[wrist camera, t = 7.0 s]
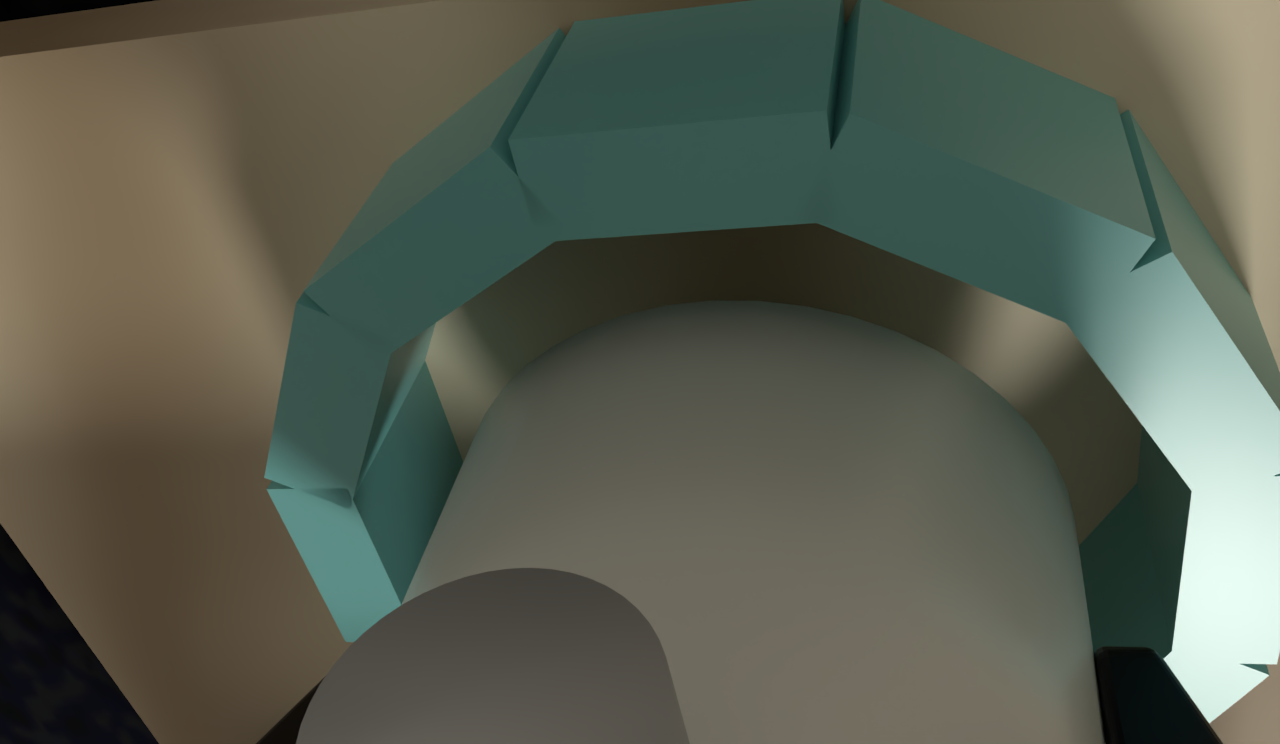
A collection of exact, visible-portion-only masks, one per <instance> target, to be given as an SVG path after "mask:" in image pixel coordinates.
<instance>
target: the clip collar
mask: <svg viewBox="0 0 1280 744" xmlns="http://www.w3.org/2000/svg"><path fill="white" fill-rule="evenodd" d="M809 223H818V224H821V225H823V226H826V227H828V228H831V229H833V230H836V231H838V232H840V233H843V234H845V235H848V236H850V237H853V238H855V239H858V240H860V241H863V242H865V243H868V244H870V245H873V246H875V247H878V248H880V249H883V250H885V251H888V252H890V253H893V254H895V255H898V256H900V257H903V258H905V259H908V260H910V261H913V262H915V263H918V264H920V265H923V266H925V267H928V268H930V269H933V270H935V271H938V272H940V273H943V274H945V275H948V276H950V277H953V278H955V279H958V280H960V281H963V282H965V283H968V284H970V285H973V286H975V287H978V288H980V289H983V290H985V291H987V292H990V293H992V294H995V295H997V296H1000V297H1002V298H1005V299H1007V300H1010V301H1012V302H1015V303H1017V304H1020V305H1022V306H1025V307H1027V308H1030V309H1032V310H1035V311H1037V312H1040V313H1042V314H1045V315H1047V316H1050V317H1052V318H1055V319H1057V320H1060V321H1062V322H1065V323H1066V324H1067V325H1068V327H1069V328H1070V329H1071V331H1072V332H1073V333H1074V335H1075V336H1076V337H1077V339H1078V340H1079V341H1080V343H1081V344H1082V345H1083V347H1084V348H1085V349H1086V351H1087V352H1088V353H1089V355H1090V356H1091V357H1092V359H1093V360H1094V361H1095V363H1096V364H1097V365H1098V367H1099V368H1100V369H1101V371H1102V372H1103V373H1104V375H1105V376H1106V377H1107V379H1108V380H1109V381H1110V383H1111V384H1112V385H1113V387H1114V388H1115V389H1116V391H1117V392H1118V393H1119V395H1120V396H1121V397H1122V399H1123V400H1124V401H1125V403H1126V404H1127V405H1128V407H1129V408H1130V409H1131V411H1132V412H1133V413H1134V415H1135V416H1136V417H1137V419H1138V420H1139V421H1140V423H1141V424H1142V433H1141V444H1140V456H1139V467H1138V479H1137V484H1136V485H1135V486H1134V487H1133V488H1132V489H1131V490H1130V491H1129V492H1128V493H1127V494H1126V496H1125V497H1124V498H1123V499H1122V500H1121V501H1120V502H1119V503H1118V504H1117V505H1116V506H1115V507H1114V508H1113V510H1112V511H1111V512H1110V513H1109V514H1108V515H1107V516H1106V517H1105V518H1104V519H1103V520H1102V521H1101V522H1100V524H1099V525H1098V526H1097V527H1096V528H1095V529H1094V530H1093V531H1092V532H1091V533H1090V534H1089V535H1088V536H1087V538H1086V539H1085V540H1084V541H1083V542H1082V543H1081V544H1080V545H1079V553H1080V560H1081V567H1082V574H1083V581H1084V588H1085V595H1086V602H1087V609H1088V617H1089V624H1090V631H1091V638H1092V645H1093V652H1094V653H1095V651H1096V649H1098V648H1100V647H1103V646H1125V647H1148V648H1151V649H1153V650H1155V651H1156V652H1157V653H1158V654H1159V655H1160V656H1161V657H1162V658H1163V659H1164V660H1165V662H1166V663H1167V664H1168V666H1169V667H1170V669H1171V670H1172V672H1173V673H1174V674H1175V676H1176V677H1177V679H1178V680H1179V681H1180V683H1181V684H1182V686H1183V687H1184V688H1185V690H1186V691H1187V693H1188V694H1189V696H1190V697H1191V698H1192V700H1193V701H1194V703H1195V704H1196V705H1197V707H1198V708H1199V710H1200V711H1201V712H1202V714H1203V715H1204V717H1205V718H1206V720H1207V721H1208V722H1209V723H1211V722H1212V721H1213V720H1214V719H1216V718H1217V717H1218V716H1219V715H1221V714H1222V713H1223V712H1224V711H1226V710H1227V709H1228V708H1229V707H1231V706H1232V705H1233V704H1234V703H1236V702H1237V701H1238V700H1239V699H1241V698H1242V697H1243V696H1244V695H1246V694H1247V693H1248V692H1249V691H1251V690H1252V689H1253V688H1254V687H1256V686H1257V685H1258V684H1259V683H1261V682H1262V681H1263V680H1264V679H1266V678H1267V677H1268V676H1269V671H1268V668H1267V664H1277V662H1278V657H1279V652H1280V372H1279V369H1278V366H1277V364H1276V361H1275V358H1274V356H1273V353H1272V350H1271V348H1270V345H1269V343H1268V340H1267V337H1266V335H1265V332H1264V329H1263V327H1262V324H1261V321H1260V319H1259V316H1258V314H1257V311H1256V308H1255V306H1254V303H1253V300H1252V298H1251V296H1250V295H1249V293H1248V292H1247V290H1246V289H1245V287H1244V285H1243V284H1242V282H1241V281H1240V279H1239V278H1238V276H1237V275H1236V273H1235V272H1234V270H1233V269H1232V267H1231V266H1230V264H1229V262H1228V261H1227V259H1226V258H1225V256H1224V255H1223V253H1222V252H1221V250H1220V249H1219V247H1218V246H1217V244H1216V242H1215V241H1214V239H1213V238H1212V236H1211V235H1210V233H1209V232H1208V230H1207V229H1206V227H1205V226H1204V224H1203V223H1202V221H1201V219H1200V218H1199V216H1198V215H1197V213H1196V212H1195V210H1194V209H1193V207H1192V206H1191V204H1190V203H1189V201H1188V199H1187V198H1186V196H1185V195H1184V193H1183V192H1182V190H1181V189H1180V187H1179V186H1178V184H1177V183H1176V181H1175V180H1174V178H1173V176H1172V175H1171V173H1170V172H1169V170H1168V169H1167V167H1166V166H1165V164H1164V163H1163V161H1162V160H1161V158H1160V157H1159V155H1158V153H1157V152H1156V150H1155V149H1154V147H1153V146H1152V144H1151V143H1150V141H1149V140H1148V138H1147V137H1146V135H1145V133H1144V132H1143V130H1142V129H1141V127H1140V126H1139V124H1138V123H1137V121H1136V120H1135V118H1134V117H1133V115H1132V114H1131V112H1130V110H1127V111H1125V112H1123V113H1121V114H1119V110H1118V107H1117V103H1116V100H1115V98H1113V97H1111V96H1109V95H1106V94H1104V93H1101V92H1099V91H1097V90H1094V89H1092V88H1089V87H1087V86H1085V85H1082V84H1080V83H1077V82H1075V81H1073V80H1070V79H1068V78H1066V77H1063V76H1061V75H1058V74H1056V73H1054V72H1051V71H1049V70H1046V69H1044V68H1042V67H1039V66H1037V65H1034V64H1032V63H1030V62H1027V61H1025V60H1022V59H1020V58H1018V57H1015V56H1013V55H1011V54H1008V53H1006V52H1003V51H1001V50H999V49H996V48H994V47H991V46H989V45H987V44H984V43H982V42H979V41H977V40H975V39H972V38H970V37H968V36H965V35H963V34H960V33H958V32H956V31H953V30H951V29H948V28H946V27H944V26H941V25H939V24H936V23H934V22H932V21H929V20H927V19H924V18H922V17H920V16H917V15H915V14H913V13H910V12H908V11H905V10H903V9H901V8H898V7H896V6H893V5H891V4H889V3H886V2H884V1H881V0H858V1H857V3H856V5H855V7H854V9H853V11H852V13H851V15H850V17H849V19H848V21H847V23H846V25H845V16H844V5H843V0H750V1H742V2H733V3H725V4H717V5H708V6H700V7H692V8H683V9H675V10H666V11H658V12H650V13H641V14H633V15H624V16H616V17H608V18H599V19H591V20H582V21H575V22H574V24H573V25H572V27H571V29H570V31H569V33H568V34H567V36H566V35H565V34H564V33H563V32H562V31H561V30H560V29H559V28H558V29H557V30H556V31H555V32H553V33H552V34H551V35H550V36H548V37H547V38H546V39H545V40H544V41H542V42H541V43H540V44H539V45H537V46H536V47H535V48H534V49H533V50H531V51H530V52H529V53H528V54H526V55H525V56H524V57H523V58H521V59H520V60H519V61H518V62H517V63H515V64H514V65H513V66H512V67H510V68H509V69H508V70H507V71H505V72H504V73H503V74H502V75H501V76H499V77H498V78H497V79H496V80H494V81H493V82H492V83H491V84H490V85H488V86H487V87H486V88H485V89H483V90H482V91H481V92H480V93H478V94H477V95H476V96H475V97H474V98H472V99H471V100H470V101H469V102H467V103H466V104H465V105H464V106H462V107H461V108H460V109H459V110H458V111H456V112H455V113H454V114H453V115H451V116H450V117H449V118H448V119H446V120H445V121H444V122H443V123H442V124H440V125H439V126H438V127H437V128H435V129H434V130H433V131H432V132H431V133H429V134H428V135H427V136H426V137H424V138H423V139H422V140H421V141H419V142H418V143H417V144H416V145H415V146H413V147H412V148H411V149H410V150H408V151H407V152H406V153H405V154H403V155H402V156H401V157H400V158H399V159H397V160H396V161H395V162H394V163H392V165H391V166H390V168H389V169H388V170H387V172H386V173H385V175H384V176H383V178H382V179H381V180H380V182H379V183H378V185H377V186H376V188H375V189H374V190H373V192H372V193H371V195H370V196H369V198H368V199H367V200H366V202H365V203H364V205H363V206H362V208H361V209H360V210H359V212H358V213H357V215H356V216H355V218H354V219H353V220H352V222H351V223H350V225H349V226H348V228H347V229H346V231H345V232H344V233H343V235H342V236H341V238H340V239H339V241H338V242H337V243H336V245H335V246H334V248H333V249H332V251H331V252H330V253H329V255H328V256H327V258H326V259H325V261H324V262H323V263H322V265H321V266H320V268H319V269H318V271H317V272H316V273H315V275H314V276H313V278H312V279H311V281H310V282H309V283H308V285H307V286H306V288H305V289H304V291H303V293H302V295H301V296H300V298H299V299H298V301H297V302H296V305H295V310H294V316H293V322H292V327H291V333H290V338H289V344H288V349H287V355H286V360H285V366H284V371H283V377H282V382H281V388H280V393H279V399H278V404H277V410H276V415H275V421H274V427H273V432H272V438H271V443H270V449H269V454H268V460H267V465H266V471H265V476H264V478H266V479H269V480H272V481H271V483H270V484H269V486H268V488H267V491H268V493H269V495H270V497H271V499H272V501H273V503H274V505H275V507H276V509H277V511H278V513H279V514H280V516H281V518H282V520H283V522H284V524H285V526H286V528H287V530H288V532H289V534H290V536H291V538H292V540H293V541H294V543H295V545H296V547H297V549H298V551H299V553H300V555H301V557H302V559H303V561H304V563H305V565H306V566H307V568H308V570H309V572H310V574H311V576H312V578H313V580H314V582H315V584H316V586H317V588H318V590H319V592H320V593H321V595H322V597H323V599H324V601H325V603H326V605H327V607H328V609H329V611H330V613H331V615H332V617H333V619H334V620H335V622H336V624H337V626H338V628H339V630H340V632H341V634H342V636H343V638H344V640H345V642H355V641H356V640H357V639H358V638H359V637H360V636H361V635H362V634H363V633H364V632H365V631H367V630H368V629H369V628H370V627H372V626H373V625H374V624H375V623H377V622H378V621H379V620H380V619H382V618H383V617H384V616H386V615H387V614H389V613H390V612H392V611H393V610H395V609H396V608H398V607H399V606H401V604H402V602H403V600H404V597H405V595H406V593H407V591H408V588H409V586H410V584H411V581H412V579H413V577H414V574H415V572H416V570H417V568H418V565H419V563H420V561H421V558H422V556H423V554H424V552H425V549H426V547H427V545H428V542H429V540H430V538H431V535H432V533H433V531H434V529H435V526H436V524H437V522H438V519H439V517H440V515H441V512H442V510H443V508H444V506H445V503H446V501H447V499H448V496H449V494H450V492H451V490H452V487H453V485H454V483H455V480H456V478H457V476H458V473H459V471H460V469H461V467H462V464H463V460H462V457H461V455H460V452H459V449H458V447H457V444H456V441H455V439H454V436H453V433H452V431H451V428H450V425H449V423H448V420H447V417H446V415H445V412H444V409H443V407H442V404H441V401H440V399H439V396H438V393H437V391H436V388H435V385H434V383H433V380H432V377H431V375H430V372H429V369H428V367H427V364H426V361H425V359H426V356H427V352H428V349H429V345H430V342H431V338H432V335H433V331H434V328H435V324H436V322H438V321H439V320H441V319H442V318H444V317H445V316H446V315H448V314H449V313H451V312H452V311H454V310H455V309H457V308H458V307H460V306H461V305H463V304H464V303H466V302H467V301H468V300H470V299H471V298H473V297H474V296H476V295H477V294H479V293H480V292H482V291H483V290H485V289H486V288H487V287H489V286H490V285H492V284H493V283H495V282H496V281H498V280H499V279H501V278H502V277H504V276H505V275H507V274H508V273H509V272H511V271H512V270H514V269H515V268H517V267H518V266H520V265H521V264H523V263H524V262H526V261H527V260H529V259H530V258H531V257H533V256H534V255H536V254H537V253H539V252H540V251H542V250H543V249H545V248H546V247H548V246H549V245H550V244H552V243H553V242H555V241H564V240H578V239H592V238H607V237H621V236H636V235H650V234H665V233H679V232H694V231H708V230H722V229H737V228H751V227H766V226H780V225H795V224H809Z"/></svg>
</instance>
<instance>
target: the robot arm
mask: <svg viewBox="0 0 1280 744" xmlns="http://www.w3.org/2000/svg"><path fill="white" fill-rule="evenodd" d="M1094 659H1095V666H1096V673H1097V681H1098V688H1099V695H1100V702H1101V709H1102V716H1103V723H1104V730H1105V738H1106V744H1223V742H1222V741H1221V739H1220V738H1219V737H1218V735H1217V734H1216V732H1215V731H1214V729H1213V728H1212V727H1211V725H1210V724H1209V722H1208V721H1207V720H1206V718H1205V717H1204V715H1203V714H1202V712H1201V711H1200V710H1199V708H1198V707H1197V705H1196V704H1195V703H1194V701H1193V700H1192V698H1191V697H1190V696H1189V694H1188V693H1187V691H1186V690H1185V688H1184V687H1183V686H1182V684H1181V683H1180V681H1179V680H1178V679H1177V677H1176V676H1175V674H1174V673H1173V672H1172V670H1171V669H1170V667H1169V666H1168V664H1167V663H1166V662H1165V660H1164V659H1163V658H1162V657H1161V656H1160V655H1159V654H1158V653H1157V652H1156V651H1155V650H1153V649H1151V648H1148V647H1125V646H1103V647H1100V648H1098V649H1096V651H1095V653H1094ZM324 678H325V677H324ZM324 678H323V679H324ZM323 679H322V680H321V681H320V682H319V683H318V684H317V685H315V686H314V687H313V688H312V689H311V690H310V691H309V692H308V693H307V694H306V695H305V696H304V697H303V698H302V699H301V700H300V701H299V702H298V703H297V704H296V705H295V706H294V707H293V708H292V709H291V710H290V711H289V712H288V713H287V714H285V715H284V716H283V717H282V718H281V719H280V720H279V721H278V722H277V723H276V724H275V725H274V726H273V727H272V728H271V729H270V730H269V731H268V732H267V733H266V734H265V735H264V736H263V737H262V738H261V739H260V740H259V741H258V742H257V743H255V744H296V741H297V737H298V733H299V730H300V726H301V723H302V721H303V718H304V716H305V713H306V711H307V708H308V706H309V704H310V702H311V700H312V698H313V696H314V694H315V693H316V691H317V689H318V687H319V685H320V684H321V682H322V681H323Z"/></svg>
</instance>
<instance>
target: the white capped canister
mask: <svg viewBox="0 0 1280 744" xmlns="http://www.w3.org/2000/svg"><path fill="white" fill-rule="evenodd" d="M296 744H1106V738H1105V730H1104V723H1103V716H1102V709H1101V702H1100V695H1099V688H1098V681H1097V673H1096V666H1095V659H1094V652H1093V645H1092V638H1091V631H1090V624H1089V617H1088V609H1087V602H1086V595H1085V588H1084V581H1083V574H1082V567H1081V560H1080V553H1079V545H1078V538H1077V531H1076V524H1075V518H1074V514H1073V510H1072V506H1071V502H1070V498H1069V494H1068V490H1067V487H1066V485H1065V483H1064V481H1063V478H1062V476H1061V474H1060V472H1059V470H1058V467H1057V465H1056V463H1055V461H1054V459H1053V457H1052V455H1051V454H1050V453H1049V451H1048V450H1047V448H1046V447H1045V445H1044V444H1043V442H1042V441H1041V439H1040V438H1039V436H1038V435H1037V433H1036V432H1035V431H1034V429H1033V428H1032V427H1031V425H1030V424H1029V423H1028V422H1027V421H1026V420H1025V419H1024V418H1023V417H1022V416H1021V415H1020V414H1019V413H1018V412H1017V411H1016V409H1015V408H1014V407H1013V406H1012V405H1011V404H1010V403H1009V402H1008V401H1007V400H1006V399H1005V398H1004V397H1003V396H1001V395H1000V394H999V393H998V392H996V391H995V390H994V389H993V388H991V387H990V386H989V385H988V384H986V383H985V382H984V381H983V380H982V379H980V378H979V377H978V376H977V375H975V374H974V373H973V372H971V371H969V370H968V369H966V368H964V367H963V366H961V365H960V364H958V363H956V362H955V361H953V360H952V359H950V358H948V357H947V356H945V355H943V354H942V353H940V352H939V351H937V350H935V349H933V348H931V347H928V346H926V345H924V344H922V343H920V342H918V341H916V340H913V339H911V338H909V337H907V336H905V335H903V334H900V333H898V332H896V331H894V330H891V329H888V328H885V327H882V326H879V325H876V324H873V323H870V322H867V321H864V320H861V319H858V318H855V317H852V316H848V315H843V314H839V313H834V312H830V311H825V310H821V309H816V308H812V307H807V306H801V305H792V304H783V303H773V302H764V301H702V302H693V303H684V304H674V305H666V306H661V307H657V308H653V309H648V310H644V311H639V312H635V313H630V314H626V315H623V316H620V317H617V318H614V319H612V320H609V321H606V322H603V323H601V324H598V325H595V326H592V327H590V328H587V329H585V330H583V331H581V332H579V333H577V334H575V335H573V336H571V337H570V338H568V339H566V340H564V341H562V342H560V343H558V344H556V345H554V346H553V347H551V348H550V349H548V350H547V351H546V352H544V353H543V354H542V355H540V356H539V357H537V358H536V359H535V360H533V361H532V362H531V363H529V364H528V365H526V366H525V367H524V368H523V369H522V370H521V371H520V372H519V373H518V374H517V375H516V376H515V377H514V378H513V379H512V380H511V381H510V382H509V383H508V384H507V385H506V386H505V387H504V388H503V389H502V390H501V392H500V393H499V395H498V396H497V398H496V399H495V400H494V402H493V403H492V405H491V406H490V408H489V409H488V410H487V412H486V413H485V415H484V417H483V419H482V422H481V424H480V426H479V428H478V430H477V432H476V435H475V437H474V439H473V441H472V444H471V446H470V448H469V450H468V453H467V455H466V457H465V460H464V462H463V464H462V467H461V469H460V471H459V473H458V476H457V478H456V480H455V483H454V485H453V487H452V490H451V492H450V494H449V496H448V499H447V501H446V503H445V506H444V508H443V510H442V512H441V515H440V517H439V519H438V522H437V524H436V526H435V529H434V531H433V533H432V535H431V538H430V540H429V542H428V545H427V547H426V549H425V552H424V554H423V556H422V558H421V561H420V563H419V565H418V568H417V570H416V572H415V574H414V577H413V579H412V581H411V584H410V586H409V588H408V591H407V593H406V595H405V597H404V600H403V602H402V604H401V606H399V607H398V608H396V609H395V610H393V611H392V612H390V613H389V614H387V615H386V616H384V617H383V618H382V619H380V620H379V621H378V622H377V623H375V624H374V625H373V626H372V627H370V628H369V629H368V630H367V631H365V632H364V633H363V634H362V635H361V636H360V637H359V638H358V639H357V640H356V641H355V642H354V643H353V644H352V645H351V646H350V647H349V648H348V649H347V650H346V651H345V652H344V653H343V655H342V656H341V657H340V658H339V659H338V660H337V662H336V663H335V664H334V665H333V666H332V668H331V669H330V671H329V672H328V674H327V675H326V676H325V678H324V679H323V681H322V682H321V684H320V685H319V687H318V689H317V691H316V693H315V694H314V696H313V698H312V700H311V702H310V704H309V706H308V708H307V711H306V713H305V716H304V718H303V721H302V723H301V726H300V730H299V733H298V737H297V741H296Z"/></svg>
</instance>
